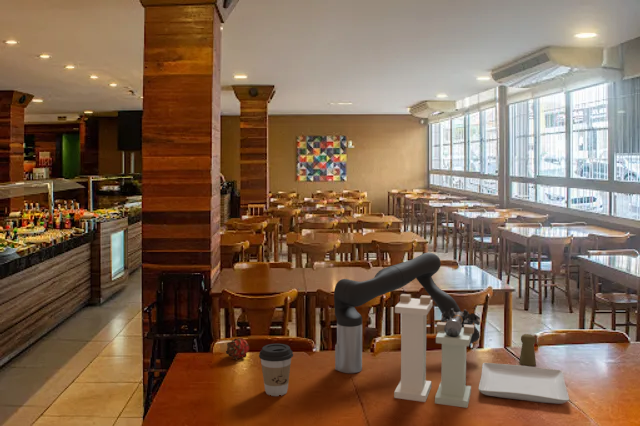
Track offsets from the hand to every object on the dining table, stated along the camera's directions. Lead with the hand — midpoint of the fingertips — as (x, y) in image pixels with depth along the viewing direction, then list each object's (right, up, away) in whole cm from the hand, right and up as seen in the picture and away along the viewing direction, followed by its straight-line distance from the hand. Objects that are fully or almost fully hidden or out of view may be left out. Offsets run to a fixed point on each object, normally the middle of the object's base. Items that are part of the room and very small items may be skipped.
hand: (458, 312), depth 191 cm
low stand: (-4, -26, -8) cm, 28 cm away
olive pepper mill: (+32, -24, +23) cm, 46 cm away
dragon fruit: (-79, -23, +30) cm, 88 cm away
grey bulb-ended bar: (-2, -4, -6) cm, 7 cm away
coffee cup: (-61, -26, -3) cm, 67 cm away
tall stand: (-16, -26, -4) cm, 31 cm away
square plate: (+21, -26, -1) cm, 34 cm away
